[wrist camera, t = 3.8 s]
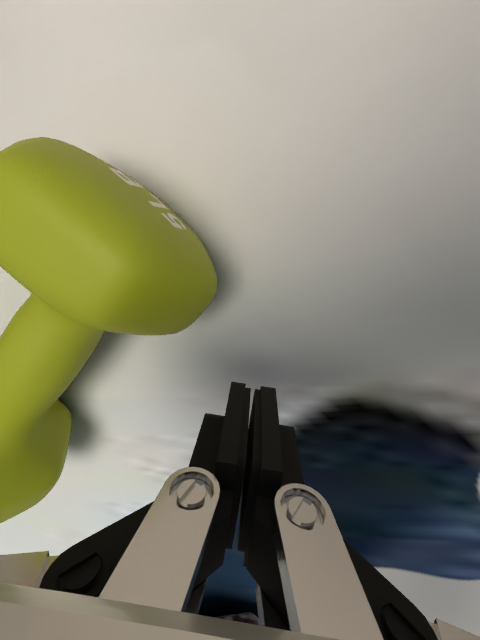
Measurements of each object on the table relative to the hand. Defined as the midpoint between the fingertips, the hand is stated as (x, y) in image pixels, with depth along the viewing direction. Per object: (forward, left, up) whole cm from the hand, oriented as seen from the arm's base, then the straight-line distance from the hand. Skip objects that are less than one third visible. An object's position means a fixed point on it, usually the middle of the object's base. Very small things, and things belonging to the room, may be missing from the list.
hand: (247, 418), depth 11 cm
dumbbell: (+9, 0, -5) cm, 10 cm away
